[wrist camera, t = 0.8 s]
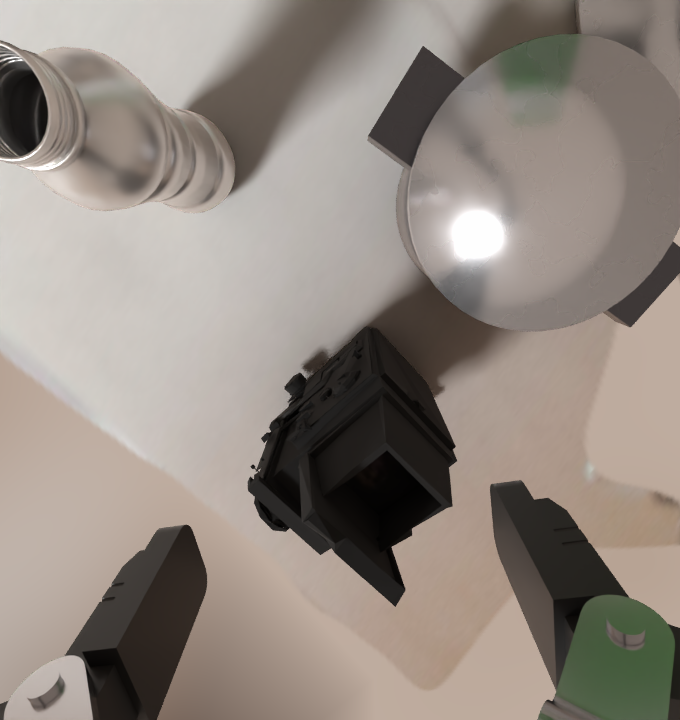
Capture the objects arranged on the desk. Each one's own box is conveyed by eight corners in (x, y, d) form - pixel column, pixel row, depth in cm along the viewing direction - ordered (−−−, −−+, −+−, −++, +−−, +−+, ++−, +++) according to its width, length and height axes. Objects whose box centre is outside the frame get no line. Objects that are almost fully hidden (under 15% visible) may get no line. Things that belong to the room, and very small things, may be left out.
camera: (252, 410, 40) (156, 588, 21) (363, 309, 37) (373, 409, 17) (328, 482, 42) (305, 705, 23) (440, 392, 39) (525, 563, 19)
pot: (329, 214, 34) (318, 212, 24) (444, 27, 30) (492, -74, 20) (523, 347, 37) (589, 398, 27) (651, 192, 33) (789, 180, 23)
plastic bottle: (215, 102, 32) (14, -66, 13) (257, 192, 34) (134, 159, 15) (141, 141, 33) (-148, 38, 14) (185, 227, 35) (-17, 239, 16)
